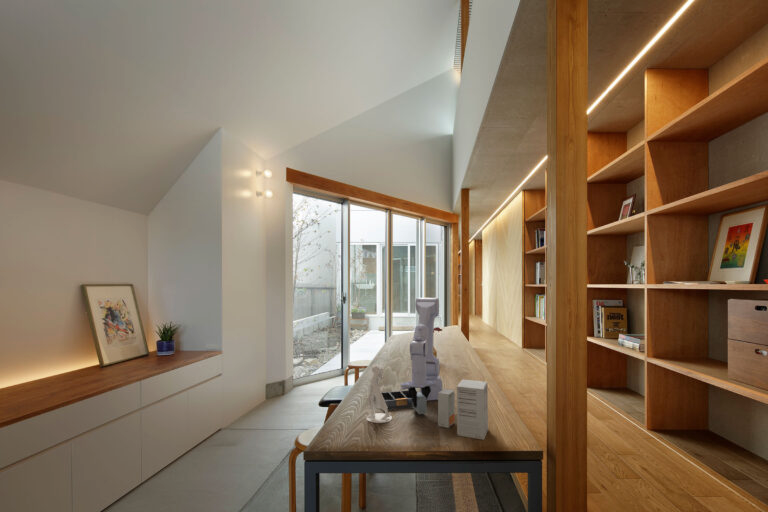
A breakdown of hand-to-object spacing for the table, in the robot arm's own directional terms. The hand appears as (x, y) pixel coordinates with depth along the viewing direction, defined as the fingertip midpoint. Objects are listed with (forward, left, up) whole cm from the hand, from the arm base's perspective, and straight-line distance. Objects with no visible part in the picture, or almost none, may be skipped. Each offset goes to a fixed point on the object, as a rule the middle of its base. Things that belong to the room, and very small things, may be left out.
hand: (419, 406), depth 157 cm
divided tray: (+5, -13, -3) cm, 14 cm away
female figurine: (+19, -1, -3) cm, 19 cm away
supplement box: (-12, +22, -3) cm, 25 cm away
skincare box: (-6, +13, -3) cm, 15 cm away
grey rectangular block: (0, 0, -2) cm, 2 cm away
